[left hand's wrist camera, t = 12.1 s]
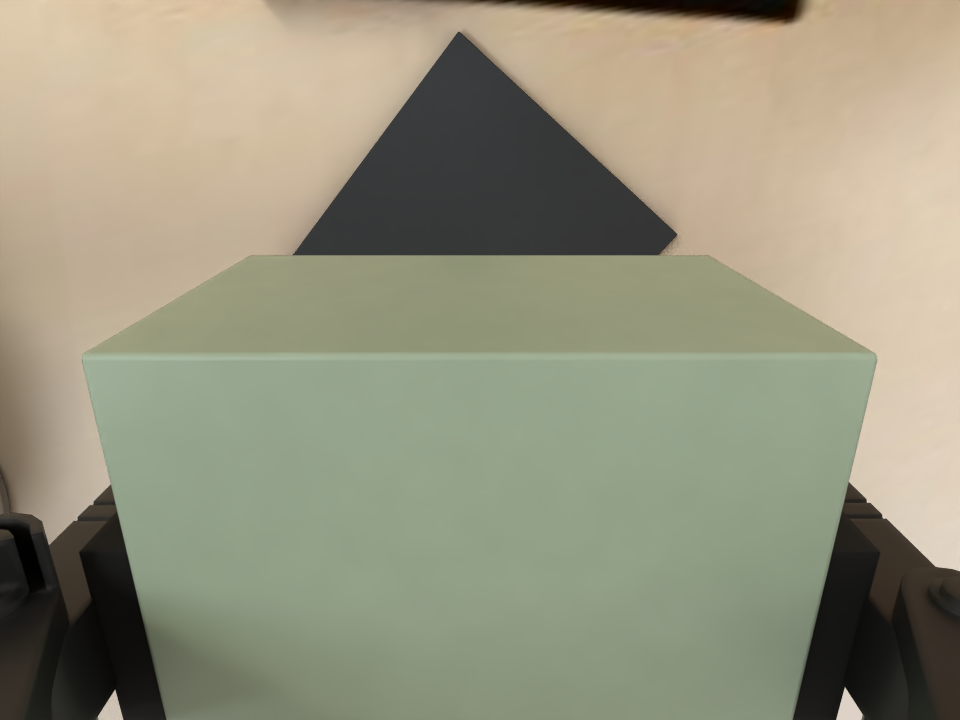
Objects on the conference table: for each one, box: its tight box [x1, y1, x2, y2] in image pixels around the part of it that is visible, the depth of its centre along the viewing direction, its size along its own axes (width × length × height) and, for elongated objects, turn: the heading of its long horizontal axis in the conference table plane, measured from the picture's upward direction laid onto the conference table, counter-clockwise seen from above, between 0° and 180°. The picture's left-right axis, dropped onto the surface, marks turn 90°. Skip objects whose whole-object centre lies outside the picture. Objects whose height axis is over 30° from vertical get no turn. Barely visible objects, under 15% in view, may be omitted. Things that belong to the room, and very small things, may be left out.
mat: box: [293, 32, 677, 255], centre depth 32 cm, size 14×14×1 cm
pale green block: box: [82, 255, 877, 720], centre depth 10 cm, size 8×8×5 cm
